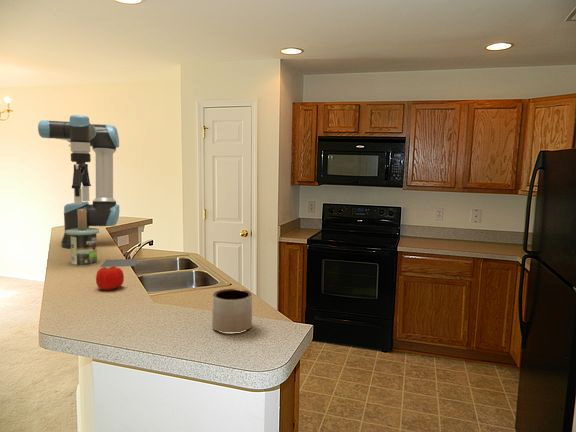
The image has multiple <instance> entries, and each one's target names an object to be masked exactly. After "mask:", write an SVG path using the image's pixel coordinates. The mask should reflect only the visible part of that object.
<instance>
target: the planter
mask: <svg viewBox="0 0 576 432" xmlns="http://www.w3.org/2000/svg"><path fill="white" fill-rule="evenodd" d="M212 293H213V294H212V310H211V311H212V312H211V313H212V315H211V316H212V317H211V318H212V319H211V325H212V326H211V327H212V329H213V328H214V329H216V330H218V331H222V332H241V331H244V330H247V329H249V328H250V327H251V328H252V325H253V293H252V292H251V291H249V290H246V289H243V288H225V289H220V290H217V291H214V292H212ZM251 328H250V329H251ZM214 329H213V330H214ZM250 329H249V330H250Z"/></svg>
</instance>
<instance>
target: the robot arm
mask: <svg viewBox="0 0 576 432" xmlns="http://www.w3.org/2000/svg"><path fill="white" fill-rule="evenodd" d="M37 131H38V135H39V136H40V138H42V139H55V140H56V139H57V140H61V141H62V140H65V141H67V142H68V143H70V144H68V147H70V152H71V153H70V162H71V163H74V164H73V175H72V185H71V189H73V194H74V195H73V196H74V197H73V199H74V200H73V201H74V202H72V203H71V202H70V203H67V204H65V205H64V207H63V217H64V218H63V220H64V222H63V223H64V224H63V225H64V233H63V236H62V239H61V243H60V244H61V246H62V248H63V249H71V235H68V234H66V230H68V229H74V228H78V211H77V209H86V218H87V228H90V227H114V226H116V225H117V224H118V221H119V217H120V205H119V204H117V201H116V200H115V199H114V153H116V152H117V148H119V147H120V138H119V133H118V130H117V128H116V126H115V125H111V124H99V123H98V124H93V123H91V122H90V118H89V116H88V115H79V114H72V115H70V116H69V121H65V120H64V121H61V120H60V121H59V120H40V121H39V122H38V123H37ZM91 147H92V148H91ZM91 149H92V151H93V152H94V153H95V198H94V199H93V200H92V204H90V203H89V202H90V187H91V186H92V184H91V181H90V173H89V167H88V166H89V165H88V163H91V154H90V153H91Z"/></svg>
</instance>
